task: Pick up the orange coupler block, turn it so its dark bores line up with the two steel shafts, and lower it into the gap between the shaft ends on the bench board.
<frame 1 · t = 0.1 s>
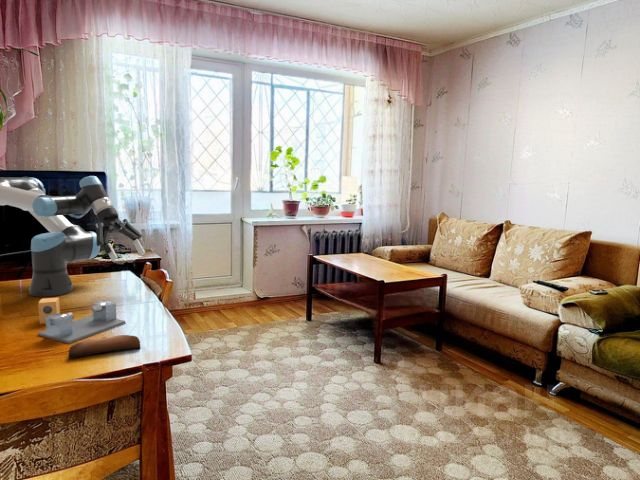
hand: (129, 256, 179), 15 cm above the table, tool tilted 35°, fingers open, 13 cm apart
bench board: (83, 328, 142), on the table
coupler: (50, 320, 149), on the table
shaft stands: (83, 317, 142), on the bench board, point 4 cm above the table
sunglasses case: (105, 351, 128), on the table
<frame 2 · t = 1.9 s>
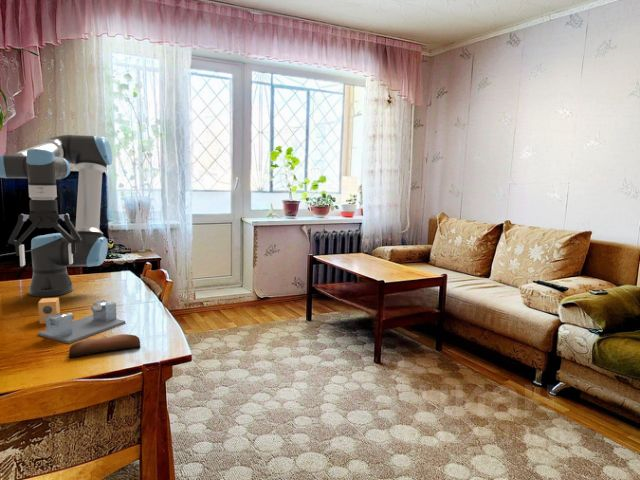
hand: (47, 264, 146), 19 cm above the table, tool pointing down, fingers open, 13 cm apart
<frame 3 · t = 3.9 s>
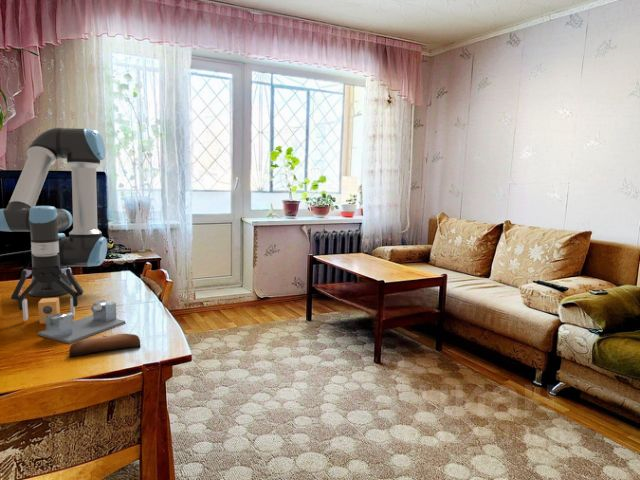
hand: (49, 317, 149), 1 cm above the table, tool pointing down, fingers open, 13 cm apart
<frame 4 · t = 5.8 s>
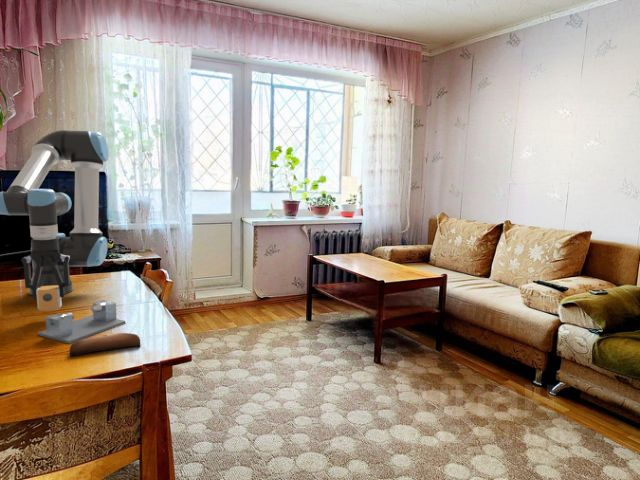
hand: (49, 307, 149), 4 cm above the table, tool pointing down, fingers closed on coupler, 5 cm apart
coupler: (50, 308, 149), point 4 cm above the table, touching gripper
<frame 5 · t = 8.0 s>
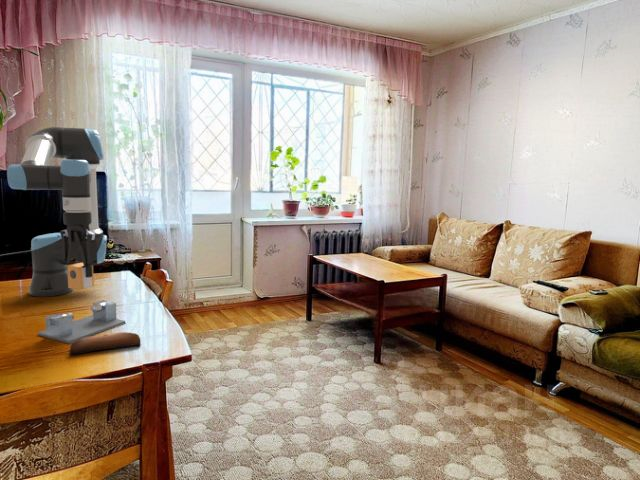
hand: (81, 285, 140), 14 cm above the table, tool pointing down, fingers closed on coupler, 5 cm apart
coupler: (81, 287, 140), point 14 cm above the table, touching gripper
when the fingers open (1 cm above the table, at t = 10.6 s): coupler stays where it is, resting on bench board.
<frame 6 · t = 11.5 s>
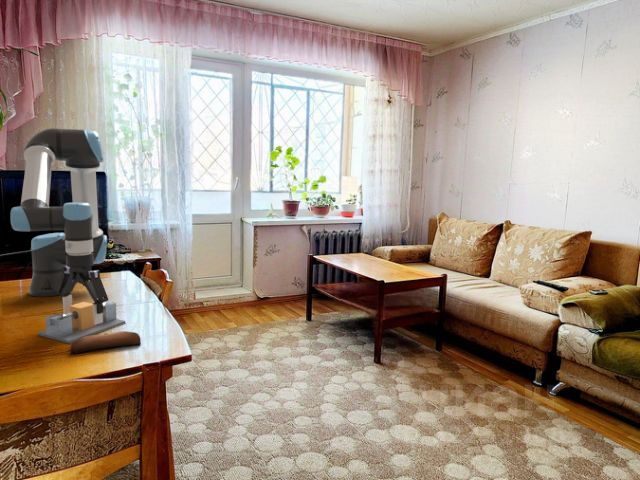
hand: (83, 319, 142), 3 cm above the table, tool pointing down, fingers open, 13 cm apart
coupler: (83, 326, 142), point 1 cm above the table, touching bench board
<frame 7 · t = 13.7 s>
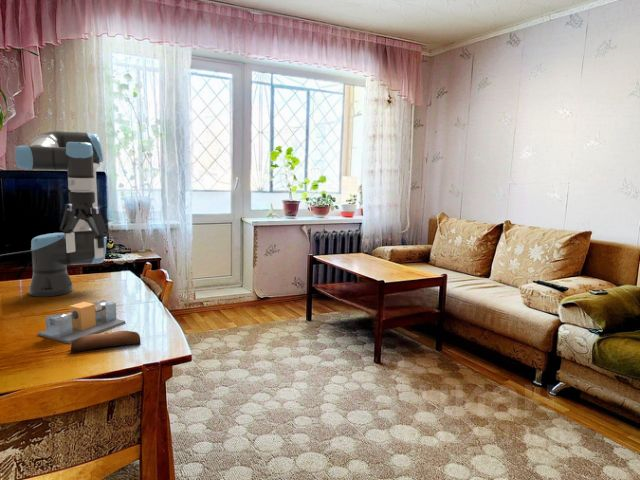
hand: (84, 255, 150), 21 cm above the table, tool pointing down, fingers open, 13 cm apart
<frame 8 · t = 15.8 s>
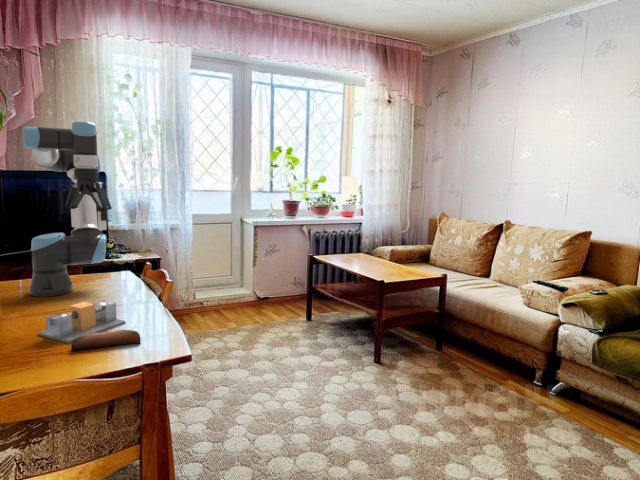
hand: (89, 228, 160), 29 cm above the table, tool pointing down, fingers open, 13 cm apart
at the end: coupler 0.0 cm off-centre on the bench board, point 0.8 cm above the bench board's base; coupler tilted 0°; the gripper is holding nothing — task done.
